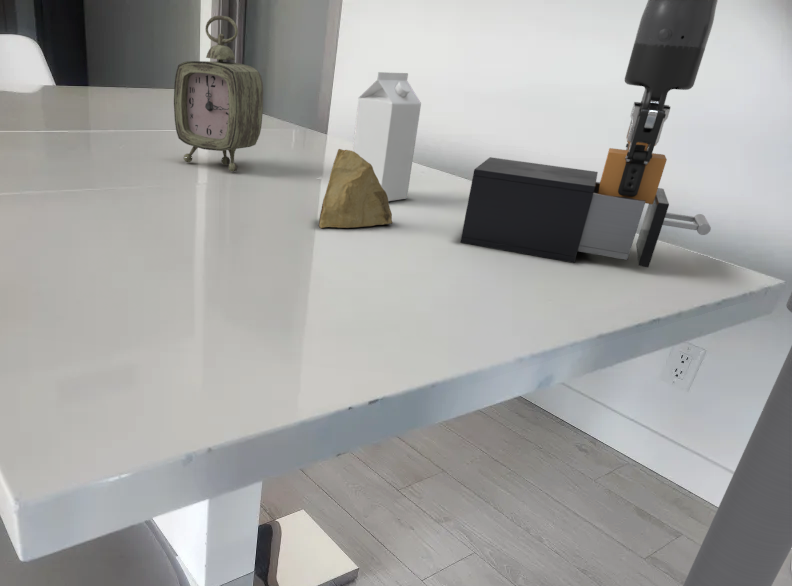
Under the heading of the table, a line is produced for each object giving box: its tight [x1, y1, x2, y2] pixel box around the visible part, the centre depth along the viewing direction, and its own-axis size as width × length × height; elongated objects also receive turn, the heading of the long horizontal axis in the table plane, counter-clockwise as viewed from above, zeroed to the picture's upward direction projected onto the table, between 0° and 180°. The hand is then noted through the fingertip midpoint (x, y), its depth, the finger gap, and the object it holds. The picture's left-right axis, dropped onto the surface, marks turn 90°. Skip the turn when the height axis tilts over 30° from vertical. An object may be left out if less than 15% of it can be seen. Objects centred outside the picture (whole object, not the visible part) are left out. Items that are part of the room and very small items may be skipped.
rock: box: [318, 148, 393, 229], centre depth 93 cm, size 11×9×10 cm
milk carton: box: [352, 71, 422, 202], centre depth 108 cm, size 7×7×19 cm
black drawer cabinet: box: [460, 156, 599, 264], centre depth 91 cm, size 15×13×10 cm
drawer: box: [577, 181, 712, 268], centre depth 87 cm, size 19×11×8 cm, turn 66°
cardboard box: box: [598, 147, 668, 205], centre depth 85 cm, size 6×5×5 cm
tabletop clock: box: [173, 15, 264, 173], centre depth 121 cm, size 14×9×25 cm, turn 56°
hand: (626, 191), depth 86 cm, fingers closed on cardboard box, 4 cm apart
